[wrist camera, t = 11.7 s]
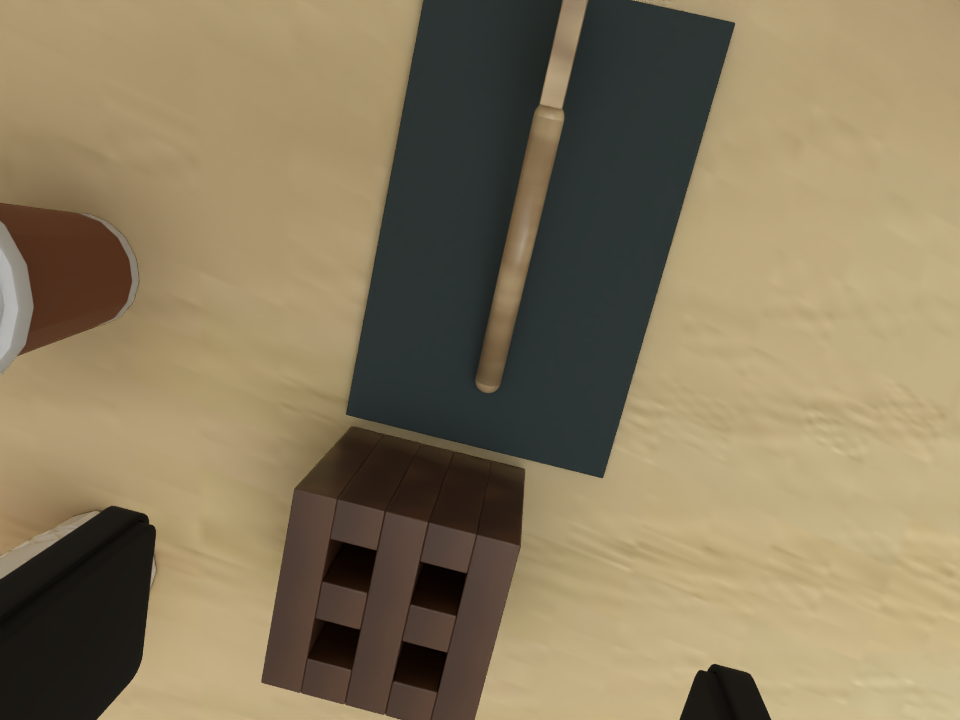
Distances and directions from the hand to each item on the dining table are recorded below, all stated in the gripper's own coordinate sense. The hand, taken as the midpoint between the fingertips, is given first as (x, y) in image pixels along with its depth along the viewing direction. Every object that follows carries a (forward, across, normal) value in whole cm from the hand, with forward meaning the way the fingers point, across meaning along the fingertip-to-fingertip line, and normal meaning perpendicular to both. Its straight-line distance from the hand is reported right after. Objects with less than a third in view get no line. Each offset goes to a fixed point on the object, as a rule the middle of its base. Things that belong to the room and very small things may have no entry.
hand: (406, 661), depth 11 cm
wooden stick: (+25, 0, +2) cm, 25 cm away
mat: (+26, 0, -6) cm, 27 cm away
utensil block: (+26, +2, +12) cm, 28 cm away
